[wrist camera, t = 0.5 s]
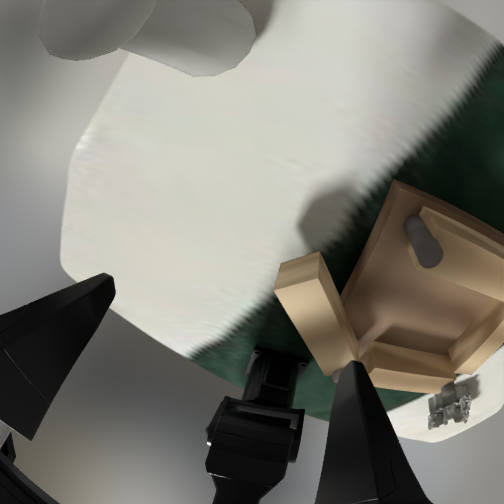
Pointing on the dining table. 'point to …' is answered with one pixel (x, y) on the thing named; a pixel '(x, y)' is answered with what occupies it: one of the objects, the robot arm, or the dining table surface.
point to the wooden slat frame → (426, 293)
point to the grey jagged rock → (449, 407)
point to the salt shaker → (151, 31)
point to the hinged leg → (317, 312)
